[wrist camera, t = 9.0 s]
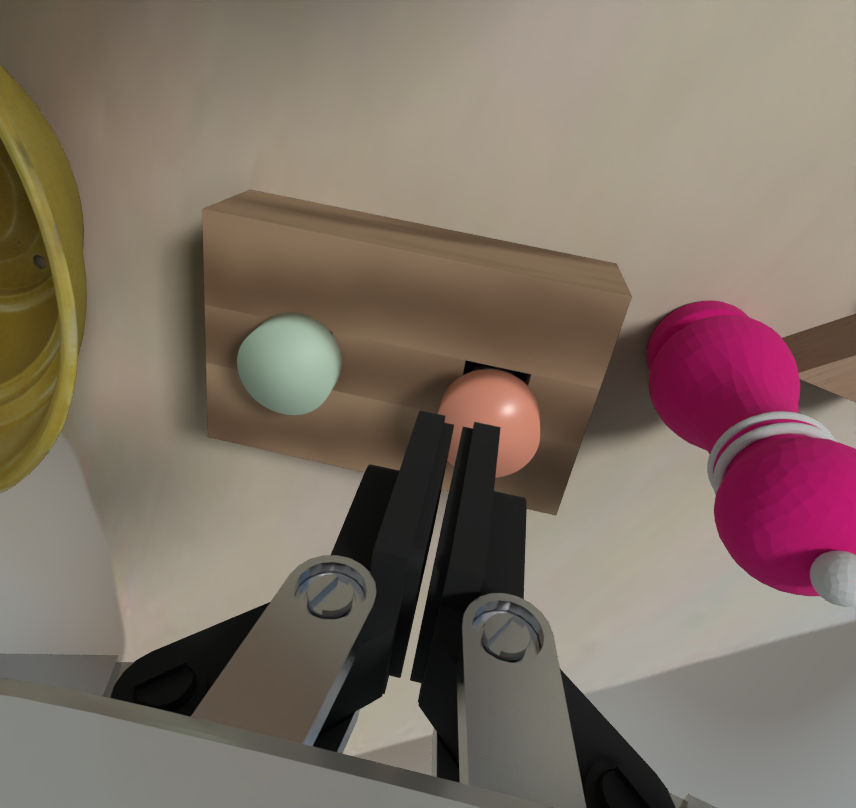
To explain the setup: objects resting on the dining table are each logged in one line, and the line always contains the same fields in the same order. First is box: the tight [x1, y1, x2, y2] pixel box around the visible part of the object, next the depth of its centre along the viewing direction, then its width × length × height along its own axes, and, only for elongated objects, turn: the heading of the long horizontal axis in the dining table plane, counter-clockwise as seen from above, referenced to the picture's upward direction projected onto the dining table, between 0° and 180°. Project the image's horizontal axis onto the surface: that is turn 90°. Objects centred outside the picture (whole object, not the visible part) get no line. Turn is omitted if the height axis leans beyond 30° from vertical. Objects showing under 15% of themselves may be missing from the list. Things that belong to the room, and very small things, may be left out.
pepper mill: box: [647, 301, 856, 607], centre depth 28 cm, size 7×7×20 cm
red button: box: [438, 362, 540, 478], centre depth 33 cm, size 5×5×8 cm
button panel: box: [202, 190, 632, 515], centre depth 36 cm, size 14×22×6 cm, turn 81°
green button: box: [237, 312, 343, 415], centre depth 35 cm, size 5×5×8 cm
